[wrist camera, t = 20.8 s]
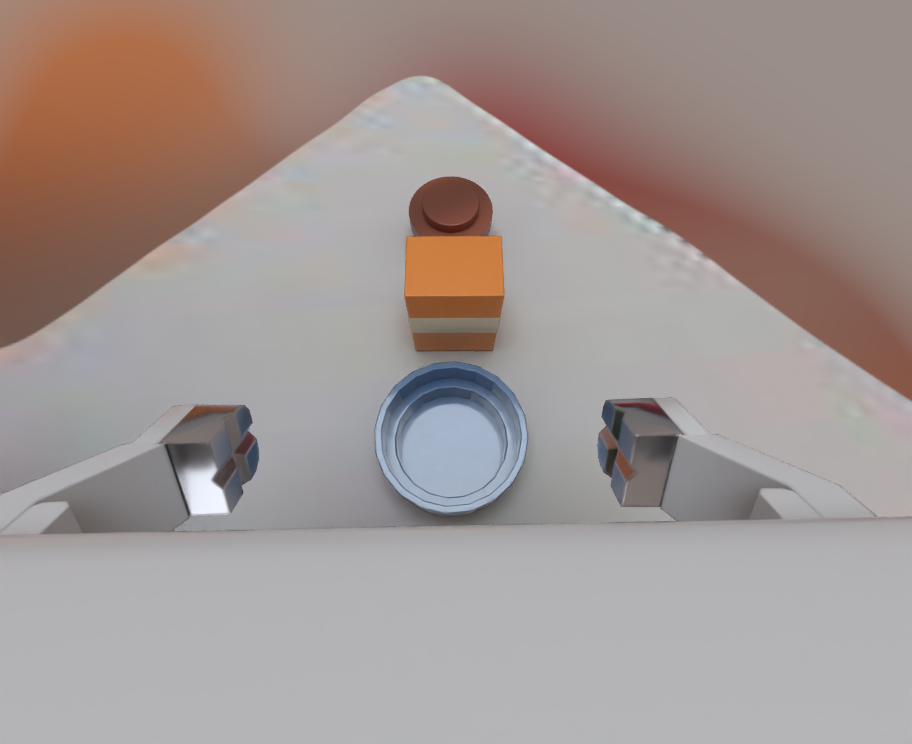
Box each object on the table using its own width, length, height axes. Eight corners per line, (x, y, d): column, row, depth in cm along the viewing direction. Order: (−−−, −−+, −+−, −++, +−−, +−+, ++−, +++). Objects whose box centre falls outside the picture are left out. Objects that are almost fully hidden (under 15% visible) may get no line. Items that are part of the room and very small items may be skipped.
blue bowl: (544, 453, 30) (559, 440, 26) (444, 546, 28) (443, 548, 24) (457, 360, 32) (457, 334, 28) (359, 441, 30) (344, 426, 26)
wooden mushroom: (504, 244, 36) (511, 205, 32) (447, 288, 35) (446, 253, 30) (454, 197, 37) (454, 154, 33) (397, 238, 36) (390, 198, 32)
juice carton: (491, 301, 34) (501, 235, 27) (493, 350, 33) (504, 296, 25) (416, 301, 34) (406, 235, 27) (415, 351, 33) (403, 296, 25)
